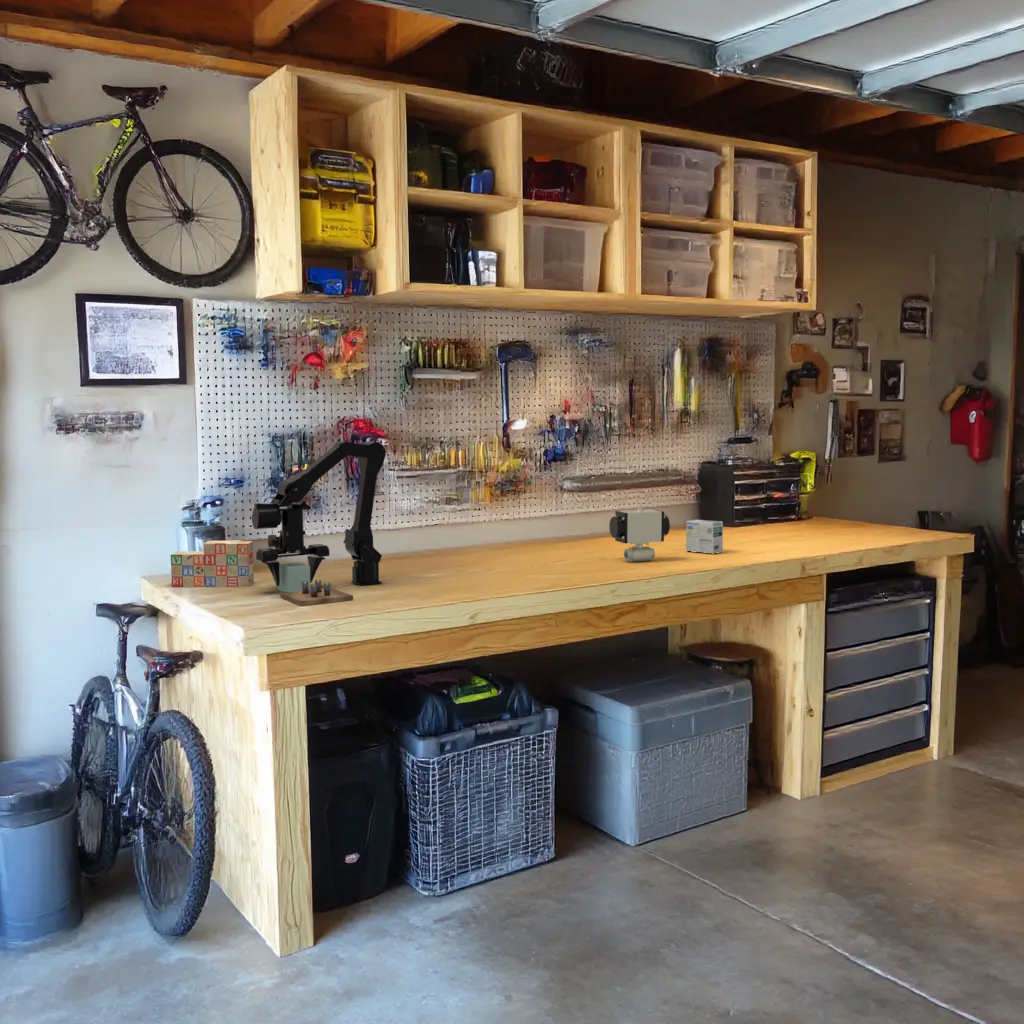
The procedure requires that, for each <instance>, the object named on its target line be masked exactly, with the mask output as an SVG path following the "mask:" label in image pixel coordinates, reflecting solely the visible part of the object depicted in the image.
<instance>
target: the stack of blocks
mask: <svg viewBox="0 0 1024 1024" xmlns="http://www.w3.org/2000/svg"><path fill="white" fill-rule="evenodd" d="M170 566H171V567H170V568H171V569H170V573H171V574H170V575H171V587H172V588H220V587H221V588H223V587H224V588H225V587H226V588H232V587H233V588H235V587H236V588H237V587H238V588H239V587H240V588H242V587H243V588H244V587H245V588H247V587H248V588H249V587H250V586H252V585H253V584H254V583H255V582H254V581H255V580H254V579H255V578H254V541H253V540H241V539H238V540H237V539H235V540H234V539H233V540H207V541H206V542H204V543H203V550H202V551H199V550H197V551H195V550H193V551H189V550H188V551H185V550H183V551H180V550H179V551H175V552H173V553H171V554H170Z"/></svg>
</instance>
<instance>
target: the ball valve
mask: <svg viewBox="0 0 1024 1024" xmlns="http://www.w3.org/2000/svg"><path fill="white" fill-rule="evenodd" d="M614 511H615V512H614V513H615V515H614V516H612V517H610V521H609V524H608V525H609V526H608V527H609V532H610V535H611V537H612V538H613V539H615V540H614V541H616V542H618V543H622V544H631V545H633V544H634V545H633V546H630V547H628V548H625V549H624V551H623V558H624V560H625V561H628V562H629V561H630V562H629V563H635V562H636V563H637V562H638V561H640V562H650V561H651V560H654V559H655V556H656V552H655V549H654V548H653V547H650V546H648V545H649V544H650V543H658V542H659V543H660V542H664V541H665V537H666V536H668V535H669V532H670V530H671V529H670V528H671V526H670V525H671V523H670V519H669V516H668V515H666V514H665V511H662V510H657V509H643V506H642V505H637V509H634V510H633V509H631V510H630V509H629V510H614ZM644 544H645V545H646V546H644ZM638 563H639V562H638Z"/></svg>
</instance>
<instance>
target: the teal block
mask: <svg viewBox="0 0 1024 1024" xmlns="http://www.w3.org/2000/svg"><path fill="white" fill-rule="evenodd" d="M279 573H280V583H279V586H277V590H278V591H280V592H282V593H286V592H295V591H302V582H304V581H308V587H309V590H311V583H310V566H309V564H304V563H302V562H298V561H297V562H288V563H279Z"/></svg>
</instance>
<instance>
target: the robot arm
mask: <svg viewBox="0 0 1024 1024" xmlns="http://www.w3.org/2000/svg"><path fill="white" fill-rule="evenodd" d="M386 454H387V451H386V447H385V446H384V445H383V444H382V443H380V442H377V441H363V442H362V443H355V442H350V441H345V440H339V441H336V442H335V444H334V445H333V446H332V447H331V448H329V450H327V451H326V452H325V453H323V454H322V455H321V456H319V457H318V458H317V459H316V460H314V462H312V463H311V464H309V466H308V467H306V468H305V469H304V470H302V471H300V472H297V473H296V474H294V475H291V476H289V477H288V478H286V479H284V480H282V481H281V482H280V483H279V485H278V490H277V493H276V494H275V496H274V497H273V499H272V500H271V502H270V503H269V502H268V503H261V502H258V503H254V504H253V506H254V507H253V510H252V515H251V524H252V527H253V529H254V530H265V529H267V530H268V529H277V528H278V526H281V529H280V531H279V536H277V534H269V535H268V536H267V545H268V547H267V548H258V549H257V551H256V554H255V555H256V556H255V558H256V560H257V561H259V562H260V561H261V563H263V564H266V566H267V567H268V569H269V570H270V573H271V576H272V578H273V580H274V582H275V586H276V587H278V586H279V583H280V573H279V564H280V561H278V558H287V557H297V556H298V557H299V556H306V557H307V561H308V566H310V584H311V583H312V582H313V580H314V577H315V575H316V573H317V570H318V568H319V567H320V564H321V563H322V561H323V560H326V557H329V556H330V548H329V546H328V545H326V544H322V543H315V544H308V547H306V545H305V535H306V530H305V529H304V510H306V511H307V510H311V509H312V507H311V506H310V505H309V504H308V503H307V502H306V501H305V500H303V499H305V497H306V496H307V495H308V494H309V492H310V491H311V490H312V488H313V485H315V483H316V482H317V481H318V480H319V479H321V478H322V477H323V476H324V475H326V474H327V473H328V472H329V471H331V470H332V469H333V468H334V467H335V466H336V465H337V464H339V463H340V462H342V461H343V460H344V459H345V458H346V457H348V456H350V457H354V458H355V457H357V464H358V468H359V472H360V473H359V474H360V476H359V483H358V491H357V498H356V505H355V510H354V511H355V514H354V520H353V524H352V525H351V528H350V529H349V528H346V529H345V531H344V534H345V535H344V536H345V537H344V540H343V544H345V545H344V546H345V550H346V552H347V553H348V554H349V555H351V559H352V560H353V566H352V569H351V571H352V572H351V573H352V574H351V575H352V576H351V577H352V580H351V583H353V584H356V585H359V586H366V585H368V586H369V585H375V584H381V583H382V580H380V568H379V567H380V562H381V559H382V554H381V553H380V552H379V551H378V550H377V549H376V548H375V547H374V536H373V531H372V526H371V525H372V516H373V511H374V510H373V509H374V501H375V496H376V495H375V494H376V489H377V488H376V486H377V479H378V474H379V472H380V471H381V470H382V468H383V465H384V463H385V458H386V456H387V455H386ZM298 502H299V503H298Z"/></svg>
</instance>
